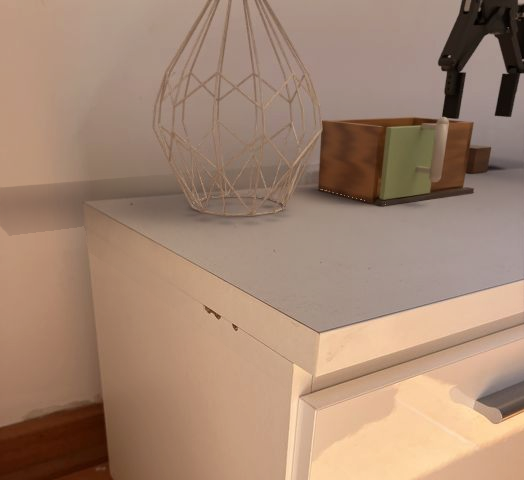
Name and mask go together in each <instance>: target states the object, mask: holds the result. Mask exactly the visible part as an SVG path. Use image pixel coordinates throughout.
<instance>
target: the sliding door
mask: <svg viewBox="0 0 524 480" xmlns="http://www.w3.org/2000/svg"><path fill="white" fill-rule="evenodd" d="M437 119H438V120H437V123H436V124H427V123H422V125H421V126H400V127H387V129H386V139H385V148H384V158H383V168H382V178H381V187H380V197H379V199H382V200H386V199H393V198H400V197H407V196H414V195H422V194H429V193H430V188H431V181H432V182H438V181H439V180H440V179H441V174H442V167H443V161H444V154H445V147H446V140H447V133H448V126H449V120H450V119H449V118H446V117H442V116H441V117H439V118H437Z"/></svg>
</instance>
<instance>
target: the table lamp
mask: <svg viewBox="0 0 524 480" xmlns="http://www.w3.org/2000/svg"><path fill="white" fill-rule="evenodd" d="M212 1H213V0H207V1H206V2H205V4H204V6H203V8H202V9H201V11H200V12H199V14H198V16H197V17H196V19H195V21H194V23H193V24H192V26H191V27H190V29H189V31H188V33H187V34H186V36H185V38H184V39H183V41H182V43H181V44H180V46H179V48H178V49H177V50H176V53H175V54H174V56H173V58H172V59H171V61H170V62H169V64H168V66H167V67H166V69H165V71H164V75H163V76H162V77H163V78H162V80H161V83H160V86H159V89H158V92H157V95H156V98H155V101H154V105H153V116H152V130H153V132H154V134H155V136H156V138H157V140H158V142H159V143H158V144H160V147H161V149H162V151H163V153H164V155H165V157H166V159H167V162H168V163H169V166H170V168H171V170H172V172H173V174H174V176H175V178H176V180H177V182H178V184H179V186H180V188H181V190H182V192H183V194H184V196H185V198H186V201H187V202H188V204H189V206H190V209H193V210H196V211H198V212H201V213H202V214H210V215H217V216H224V217H255V216H262V215H269V214H270V215H272V214H275V213H278V212H280V211H283V210H285V209H286V207H287V206H288V203H289V201H290V199H291V197H292V195H293V193H294V191H295V189H296V187H297V185H298V183H299V181H300V180H301V179H300V178H301V177H302V175H303V172H304V171H305V169H306V167H307V165H308V163H309V161H310V158H311V156H312V154H313V152H314V149H315V148H316V146H317V143H318V141H319V139H320V138H321V132H322V130H323V129H322V120H323V119H322V118H323V117H322V109H321V104H320V100H319V97H318V95H317V91H316V88H315V85H314V82H313V79H312V76H311V74H310V72H309V70H308V68H307V66H306V64H305V62H304V61H303V60H302V58H301V56H300V54H299V52H298V51H297V49H296V48H295V46H294V45H293V43H292V41H291V39H290V37H289V35H288V34H287V32H286V31H285V29H284V27H283V26H282V24H281V22H280V21H279V19H278V17H277V15H276V13H275V11H274V10H273V8H272V7H271V4H270V3H269V1H268V0H254V3H255V5H256V8H257V10H258V13H259V15H260V17H261V20H262V24H263V26H264V29H265V31H266V33H267V34H266V35H267V36H268V39H269V41H270V43H271V46H272V49H273V51H274V54H275V57H276V60H277V62H278V64H279V68H280V70H281V72H282V75H283V79H284V82H283V84H281V86H280V87H279V88H278V89H275V88H274V87H273V86H272V85H270V84H269V83H268V82H267V81H266V80H264V78H262V74H261V68H260V63H259V62H260V61H259V57H258V52H257V47H256V40H255V35H254V30H253V29H254V28H253V25H252V18H251V13H250V7H249V2H248V0H242V4H243V12H244V20H245V26H246V33H247V41H248V48H249V55H250V61H251V62H250V63H251V70H252V73H251V74H249V75H248V76H247V77H246V78H244V79H243V80H242V81H240V82H239V83H238V84H237V85H235V84H234V83H233V82H232V81H231V80H229V79H228V78H227V77H226V76H225V75H223V74H222V72H223V65H224V57H225V50H226V43H227V37H228V29H229V23H230V15H231V10H232V9H231V8H232V0H228V1H227V6H226V14H225V19H224V20H225V21H224V24H223V25H224V26H223V32H222V37H221V44H220V49H219V56H218V61H217V68H216V71H215V72H214V73H213V74H212V75H210V76H208V78H207V79H205V80H204V81H203V82H202V81H201V80H200V79H199V78H198V77H197V76H196V75H195V74H194V73H193V69H194V67H195V64H196V62H197V60H198V56H199V54H200V52H201V49H202V47H203V44H204V41H205V39H206V36H207V34H208V31H209V29H210V26H211V25H212V21H213V19H214V16H215V14H216V12H217V9H218V6H219V4H220V1H221V0H214V1H213V3H212ZM211 3H212V5H211ZM210 5H211V7H210ZM264 6H265V7H264ZM209 7H210V9H209ZM265 8H266V9H265ZM208 9H209V12H208V14H207V16H206V18H205V20H204V22H203V25H202V27H201V29H200V31H199V34H198V36H197V38H196V39H195V43H194V44H193V47H192V49H191V51H190V53H189V55H188V58H187V60H186V62H185V64H184V66H183V68H182V70H181V74H180V78H179V81H178V83H176V84H175V85H174V86H173V88H172V86H171V82H170V81H171V80H170V77H171V74H172V72H173V70H174V68H175V66H177V63H178V61H179V59H180V58H181V56H182V54H183V53H184V51H185V49H186V47H187V45H188V44H189V42H190V40H191V38H192V37H193V35H194V33H195V31H196V30H197V28H198V26H199V25H200V23H201V21H202V19H203V17H204V16H205V14H206V13H207V10H208ZM266 10H267V11H268V13H269V15H270V17H271V18H272V19H271V20H272V21H273V22H274V24H275V27H276V28H277V29H278V32H279V33H280V35H281V36H282V39H283V40H284V42H285V44H286V45H287V47H288V49H289V51H290V53H291V55H292V57H293V58H294V60H295V61H296V63H297V66H298V67H299V69H300V71H301V73H302V76H301V78H298V76H297V75H296V73H295V72H294V69H293V67H292V65H291V63H290V61H289V58H288V56H287V54H286V52H285V50H284V47H283V46H282V44H281V41H280V39H279V36H278V35H277V32H276V30H275V28H274V26H273V24H272V21H271V20H270V17H269V15H268V13H267V11H266ZM265 19H266V20H265ZM266 21H267V23H268V24H267V23H266ZM267 25H269V27H270V29H271V31H272V32H271V33H272V34H273V36H274V39H275V40H276V42H277V44H278V47H279V49H280V51H281V53H282V55H283V58H284V60H285V61H286V62H285V63H286V65H287V66H288V68H289V71H290V75H289V77H288V78H287V76H286V72H285V69H284V67H283V64H282V61H281V59H280V56H279V54H278V52H277V48H276V46H275V44H274V41H273V38H272V35H271V33H270V30H269V28H268V26H267ZM205 28H206V29H205ZM204 30H205V31H204ZM203 32H204V33H203ZM202 34H203V36H202ZM201 37H202V39H201ZM200 39H201V40H200ZM199 41H200V44H199V46H198V49H197V52H196V54H195V56H194V59H193V61H192V64H191V66H190V69H189V71H188V72H187V73H186V74H185V71H186V69H187V67H188V65H189V62H190V61H191V59H192V56H193V54H194V52H195V49H196V47H197V45H198V43H199ZM251 41H252V42H251ZM251 43H252V44H251ZM252 48H253V50H252ZM253 53H254V57H253ZM254 58H255V63H256V69H257V73H256V72H255V63H254ZM191 76H192V77H193V78H194V79H195V80H196V81H197V82H198V83H199V85H198V86H197V87H195V88H194V89H193V90H192V91H190V92H189V93H188V89H189V85H190V80H191ZM251 77H252V78H253V79H252V80H253V90H254V99H252V98H251V97H250V96H249V95H248V94H247V93H245V92H244V91H243V90H242V89H240V86H241V85H243V84H244V83H245V82H246V81H247V80H249V79H250V78H251ZM213 78H215V84H214V92H212V91H211V90H210V89H209V88H207V86H206V84H207V83H209V82H210V81H211V80H212V79H213ZM256 78H257V79H258V84H259V85H258V86H259V94H260V104H261V105H260V104H259V103H258V95H257V82H256ZM186 79H187V81H186V84H185V90H184V94H183V97H182V98H181V99H180V100H179V101H178V98H179V94H180V90H181V86H182V84H183V82H184V81H185V80H186ZM222 79H223V80H224V81H225V82H226V83H228V84H229V85H230V86H231V87H232V88H231V89H230V90H229V91H227V92H226V93H225V94H224V95H222V96H221V84H222ZM291 79H293V82H294V86H295V91H294V92H293V94H292V97H291V95H290V89H289V85H288V83H289V81H291ZM303 80H305V83H306V86H307V87H306V86H305V84H304V83H303ZM262 83H264V84H265V85H266V86H267V87H269V88H270V89H271V90H272V91H273V92H275V93H274V94H273V95H272V96H271V97H270V99H269V100H268V101H267V102H266V104H265V103H264V94H263V84H262ZM300 87H302V88H303V90H304V91H305V92H306V93H307V94H308V96H309V97H310V99H311V102H312V106H313V107H312V108H313V118H314V119H313V121H314V127H313V130H312V132H311V133H310V137H309V139H308V141H307V143H306V145H305V148H304V149H303V151H302V149H301V145H302V142H303V140H304V138H305V137H304V136H305V134H306V125H305V123H306V122H305V110H304V109H305V108H304V105H303V101H302V98H301V93H300V90H299V89H300ZM167 88H168V90H169V92H167V93H166V90H167ZM201 88H204V89H205V91H207V92H208V94H209V95H210V96H211V97H212V98H213V103H212V104H213V105H212V126H211V127H210V128H209V130H207V132H206V134H205V135H204V136H203V137H202V139H201V140H200V141H199V142H198V143H197V145H196V147H194V146H193V145H192V144H191V141H190V137H189V134H188V131H187V128H186V124H185V107H186V106H185V105H186V100H187V99H189V98H190V97H191V96H192V95H193V94H195V93H196V92H197V91H199V90H200V89H201ZM284 88H286V94H287V97H286V96H285V95H283V94H282V93H280V92H281V91H282V90H283V89H284ZM176 89H177V90H176ZM175 90H176V94H175V97H174V95H173V92H174V91H175ZM235 90H236V91H237V92H239V93H240V94H241V95H242V96H244V97H245V98H246V99H247V100H248V101H250V102H251V103H252V104H253V105H254V106H255V107H254V109H255V123H254V134H253V140H252V141H251V142H250V143H249V144H246V142H245V141H243V140H242V139H241V138H240V137H239V136H238V135H237V134H236V133H234V132H233V131H232V130H231V129H230V128H229V127H228V126H227V125H225V124H224V123H223V122H222V121H221V120H220V102H221V101H222V100H223V99H224V98H226V96H228V95H230V94H231V93H232V92H234V91H235ZM165 93H166V95H165ZM187 93H188V94H187ZM213 93H214V94H213ZM296 95H297V98H298V102H299V106H300V110H301V111H300V112H301V123H302V126H301V127H302V134H301V137H300V140H299V139H298V136H297V132H296V129H295V125H294V122H293V106H292V103H293V102H294V99H295V97H296ZM169 96H170V100H171V105H172V117H171V131H169V130H168V129H167V128H166V127H165V126H164V125H162V124H161V118H162V117H161V116H162V103H163V102H164V101H165V100H166V99H167V98H168V97H169ZM220 96H221V97H220ZM277 96H279V97H281V98H282V99H283V100H284V101H286V102H287V103H288V104H289V115H290V116H289V117H290V122H289V123H287V124H286V125H285V126H284V127H282V128H281V129H280V130H279V131H277V132H276V133H274V134H273V135H272V136H270V137H269V136H267V134H266V123H265V121H266V120H265V110H266V109H267V108H268V107H269V105H270V104H272V102H273V101H274V99H276V97H277ZM177 101H178V102H177ZM158 102H159V105H158ZM181 104H182V109H181V110H182V111H181V123H182V126H183V130H184V133H185V137H186V139H185V138H184V137H182V136H181V135H180V134H179V133H178V132H176V131H175V119H176V117H175V116H176V108H177V107H178V106H180V105H181ZM216 105H217V107H216ZM157 106H158V107H159V108H158V119H157V126H158V129H159V133H160V136H161V138H160V136H159V133H158V131H157V128H156V126H155V125H156V114H157ZM316 106H317V107H318V117H319V119H318V120H319V128H320V129H319V130H318V131H317V133H316V134H315V131H316V129H317V126H318V121H317V109H316V108H317V107H316ZM258 109H259V110H260V111H261V124H262V126H261V127H262V129H261V130H262V134H260V135H259V136H258V137H257V129H258ZM216 114H217V115H216ZM220 124H221V126H223V127H224V128H225V129H226V130H227V131H228V132H230V133H231V135H232V136H234V137H235V138H236V139H237V140H238V141H239V142H240V143H241V144H243V145H244V146H245V147H244V148H242V150H240V151H238V153H236V154H235V155H233V156H232V158H230V159H228V160H227V161H226V162H225V163H224V156H223V155H224V153H223V147H222V146H223V145H222V135H221V127H220ZM216 125H217V132H218V141H219V151H220V160H221V166H220V160H219V154H218V147H217V139H216ZM287 128H288V130H287V134H286V138H285V142H284V145H283V149H282V151H281V152H280V151H279V149H278V148H277V147H276V146H275V144H274V143H273V141H271V140H272V139H274V138H275V137H277V136H278V135H279V134H280V133H281V132H283V131H284V130H286V129H287ZM291 130H292V131H293V134H294V138H295V142H296V145H297V148H296V151H295V152H294V156H293V159H292V161H291V164H290V163H289V161H288V160H287V159H286V157H284V155H285V152H286V148H287V145H288V140H289V136H290V133H291ZM211 131H212V139H213V145H214V154H215V161H216V165H215V164H214V163H213V162H212V161H211V160H209V159H208V158H207V157H206V156H205V155H204V154H202V153H201V151H199V150H198V148H199V147H200V146H201V144H202V143H203V142H204V140H206V138H207V137H208V135H209V134H210V133H211ZM165 132H166V133H167V134H168V135H169V136H170V143H169V141H168V139H167V137H166V134H165ZM314 134H315V136H314ZM313 136H314V137H313ZM260 139H261V142H260V143H261V144H260V145H259V146H257V148H256V143H257V142H258V141H259V140H260ZM173 141H175V144H176V147H177V149H178V152H179V156H180V158H181V160H182V163H183V166H184V169H185V171H186V174H187V176H188V179H189V181H190V184H191V189H190V188H189V186H188V184H187V182H186V180H185V178H184V175H183V173H182V171H181V169H180V166H179V164H178V162H177V161H176V158H175V156H174V153H173ZM267 143H268V144H270V146H271V147H272V148H273V150H274V151H275V152H276V153H277V154H278V156H279V157H280V159H279V163H278V165H277V169H276V172H275V175H274V179H273V182H272V185H271V189H270V191H268V187H267V185H266V181H265V179H264V176H263V173H262V170H261V165H262V158H263V151H264V146H265V145H266V144H267ZM185 144H186V145H187V146H188V147H189V148H188V147H187V146H186V145H185ZM180 146H181V147H183V148H184V149H185V150H186V151H188V152H189V153H190V155H191V156H190V157H191V174H190V171H189V168H188V167H187V163H186V161H185V158H184V155H183V153H182V149H181V147H180ZM251 147H252V148H251ZM259 149H260V150H259ZM247 150H249V151H250V152H251V154H250V155H249V157H248V158H247V160H246V162H245V164H244V165H243V167H242V168H241V169H240V172H239V173H238V175H237V176H236V178H235V180H234V181H233V183H232V184H231V183H230V181H229V180H228V179H227V177H226V173H225V167H227V166H228V165H229V164H230V163H232V162H233V161H234V160H235V159H237V158H238V157H239V156H240V155H242V154H244V152H245V151H247ZM258 150H259V158H257V156H256V152H257V151H258ZM309 151H310V152H309ZM195 153H196V154H197V155H198V156H200V157H201V158H202V159H204V160H205V161H206V162H207V163H208V164H209V165H211V167H213V168H214V169H215V170H216V174H215V176H214V177H213V176H212V175H211V173H210V172H209V171H208V170H207V168H206V167H205V165H204V164H203V163H202V162H201V161H200V160H199V158H198V157H197V156H196V154H195ZM298 153H299V156H298ZM307 154H308V155H307ZM297 156H298V157H297ZM306 156H307V158H306V160H305V162H304V165H303V167H302V169H301V166H302V163H303V160H304V158H305V157H306ZM172 160H173V162H174V164H175V166H176V167H175V166H174V164H173V163H172ZM250 160H251V165H250V173H249V182H248V183H249V184H248V193H247V195H251V189H252V181H253V179H252V178H253V171H254V170H253V169H254V162H255V164H256V166H257V171H256V178H255V184H254V189H253V190H254V191H253V195H251V196H239V195H240V194H239V193H238V192H237V191H236V190H235V188H234V186H235V185H236V183H237V181H238V180H239V178H240V177H241V175H242V173H243V172H244V170H245V169H246V167H247V166H248V163H249V162H250ZM254 160H255V161H254ZM282 161H284V163H285V164H286V165H287V166H288V167H289V168H288V169H287V170H286V171H285V172H284V174H283V175H282V176H281V177H280V178H279V180H278V181H277V177H278V174H279V171H280V168H281V165H282ZM198 164H199V165H200V167H201V168H202V169H203V170H204V171H205V172H206V175H208V176H209V178H210V180H212V181H213V182H212V185H211V187H210V190H209V192H208V196H207V193H206V189H205V187H204V183H203V180H202V177H201V173H200V170H199V167H198ZM194 167H195V169H196V170H195V171H196V173H197V176H198V180H199V182H200V185H201V188H202V193H203V196H204V197H202V198H200V196H199V194H198V191H197V189H196V187H195V180H194V179H195V176H194V175H195V173H194V172H195V171H194ZM300 169H301V171H300ZM221 170H222V171H221ZM294 171H295V172H294ZM299 171H300V173H299ZM293 172H294V174H293V176H292V173H293ZM298 174H299V175H298ZM291 176H292V178H291ZM222 178H223V181H222ZM260 178H261V181H262V184H263V187H264V190H265V193H266V196H264V197H265V198H261V197H262V196H259V197H256V196H257V191H258V184H259V179H260ZM217 179H218V181H219V183H218V182H217ZM276 181H277V183H276ZM275 183H276V184H275ZM215 185H216V186H217V188H218V189H219V190H220V193H221V196H222V197H214V196H215V195H214V196H211V195H212V192H213V189H214V187H215ZM227 185H228V186H229V190H228V189H227ZM223 186H224V187H223ZM285 187H286V192H285V194H284V196H283V199H282V201H281V197H282V195H283V193H284V190H285ZM223 188H224V190H223ZM280 188H281V189H280ZM279 189H280V192H279V195H278V197H277V199H275V198H273V197H274V195H275V194H276V193H277V192H278V190H279ZM231 192H233V193H234V195H236V196H224V195H230V193H231ZM252 196H254V197H252ZM207 197H208V198H207ZM210 197H213V198H210ZM204 198H206V199H204ZM220 198H221V200H222V207H223V212H216V211H215V212H214V211H208V210H206V209H207V207H208V203H209V201H210V200H211V199H220ZM225 198H238V200H239V201H240V203H241V204H242V205H243V206H244V208H245V209H246V211H247V212H248V213H227V209H226V202H225ZM242 198H252V204H251V210H250V209H249V207H248V206H247V205H246V204H245V202H244V200H243V199H242ZM269 198H271V199H269ZM201 199H202V200H201ZM256 199H261V200H262V201H261V202H260V203H258V205H257V207H255V204H256ZM272 199H274V200H272ZM205 200H206V201H205ZM266 200H270V201H272V202H275V206H274V208H273V209H272V211H265V212H257V211H258V210H259V209H260V207H262V205H263V204H264V203H265V201H266ZM275 200H277V201H275ZM194 201H195V202H194ZM203 201H205V203H204V206H203V204H202V202H203ZM279 201H281V202H279ZM283 202H284V204H283ZM192 203H193V204H194V205H193V204H192ZM195 204H196V205H197V206H198V207H195ZM279 204H281V206H282V207H279V208H278V209H277V207H278V205H279ZM282 204H283V205H282ZM284 207H285V208H284ZM282 208H283V209H282Z"/></svg>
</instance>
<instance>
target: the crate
mask: <svg viewBox="0 0 524 480" xmlns="http://www.w3.org/2000/svg"><path fill="white" fill-rule="evenodd" d="M438 119H439V118H432V117H431V118H430V117H419V116H404V117H403V116H402V117H401V116H400V117H380V118H379V117H376V118H352V119H350V118H348V119H324V120H323V119H322V129H323V130H322V132H321V135H320V148H319V164H318V182H317V183H318V184H317V187H318V188H319V189H318V188H317V190H318V191H320V192H323V193H324V192H325V193H328V194H331V195H336V196H339V197H344V198H348V199H352V200H355V201H360V202H364V203H367V204H371V205H372V204H374V205H375V206H379V207H386V206H387V207H388V206H394V205H401V204H407V203H414V202H422V201H428V200H434V199H441V198H447V197H454V196H463V195H467V194H474V192H475V188H473V187H468V186H465V187H464V185H465V179H466V174H467V173H466V167H467V161H468V155H469V149H470V145H471V143H472V136H473V129H474V126H475V125H474V124H475V122H474V121H464V120H456V119H448V120H449V126H448V133H447V140H446V147H445V154H444V161H443V167H442V174H441V179H440V180H439V181H438V182H432V181H431V188H430V193H429V194H422V195H414V196H407V197H400V198H393V199H386V200H382V199H379V197H380V187H381V178H382V168H383V158H384V148H385V139H386V129H387V127H400V126H421V125H422V123H427V124H436V123H437V120H438ZM320 189H323V190H320ZM324 190H327V191H324ZM328 191H330V192H328ZM332 192H334V193H332ZM336 193H338V194H336ZM340 194H342V195H340ZM344 195H345V196H344ZM348 196H349V197H348ZM352 197H353V198H352ZM356 198H357V199H356ZM360 199H362V200H360ZM364 200H365V201H364ZM385 204H386V205H385Z"/></svg>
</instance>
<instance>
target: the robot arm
mask: <svg viewBox="0 0 524 480" xmlns="http://www.w3.org/2000/svg"><path fill="white" fill-rule="evenodd" d="M487 35H493V36H494V38H496V39H497V40H498V44H499V48H500V52H501V56H502V60H503V63H504V66H505V67H504V68H505V71H506V73H502V74H501V78H500V79H501V80H500V84H499V89H498V96H497V100H496V106H495V110H494V111H495V112H494V117H502V118H504V117H505V118H512V114H513V109H514V105H515V99H516V95H517V91H518V87H519V82H520V77H521V74H524V2H519V0H461V3H460V7H459V12H458V15H457V17H456V20H455V22H454V24H453V27H452V29H451V31H450V33H449V35H448V37H447V39H446V42H445V44H444V46H443V49H442V50H441V53H440V56H439V58H438V60H437V65H438V67H440V70H441V71H442V72H446V77H445V81H444V83H445V84H444V90H443V95H444V99H443V104H442V105H443V106H442V113H441V117H446V118H447V119H450V120H459V119H460V115H461V114H460V113H461V106H462V101H463V96H464V95H463V94H464V89H465V82H466V76H467V72H466V71H464V72H463V70H464V68H465V67H466V65H467V63H468V62H469V60H470V59H471V58H472V56H473V54H474V53H475V52H476V50H477V49H478V47H479V46H480V44H481V42H482V41H483V39H484V38H485V37H486V36H487Z"/></svg>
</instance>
